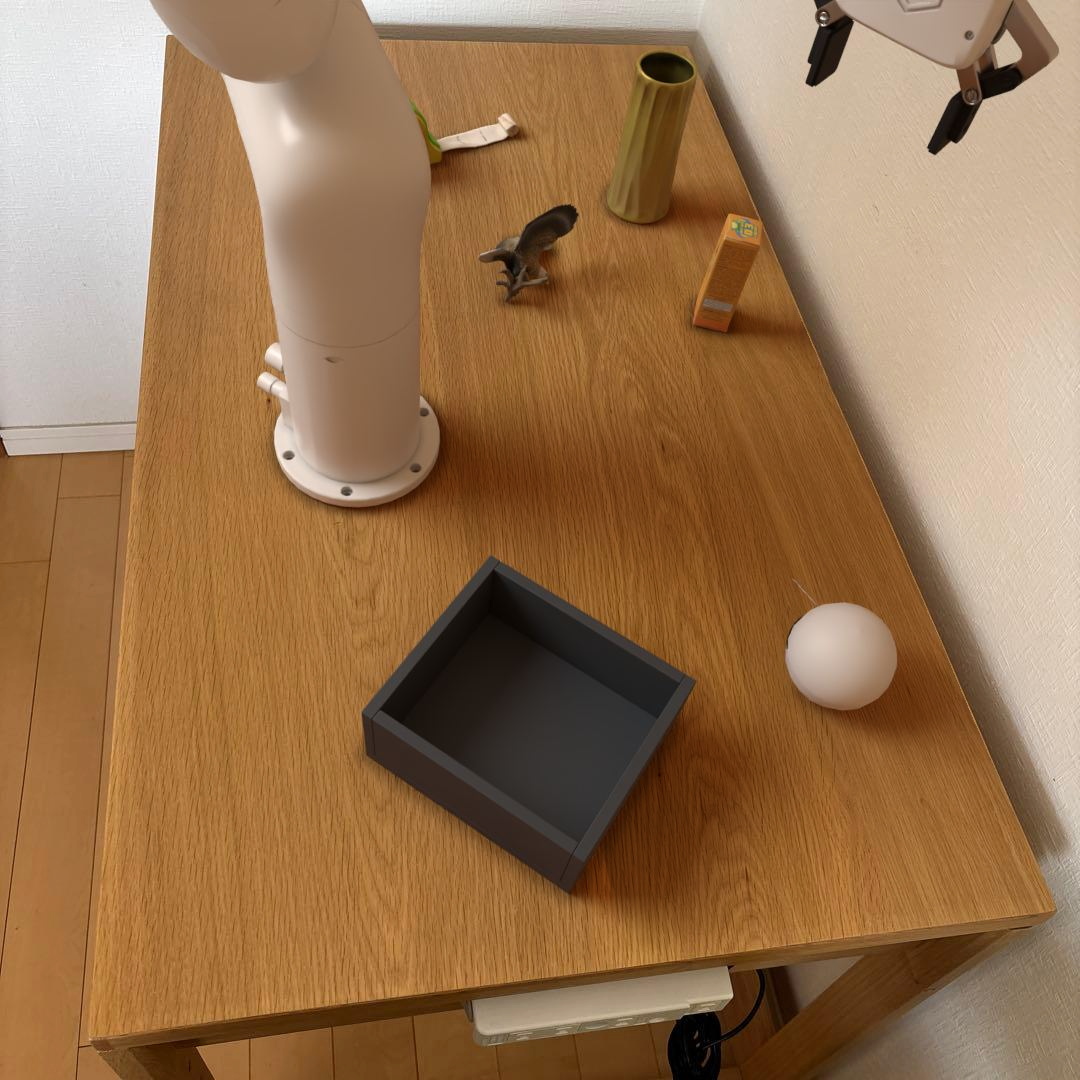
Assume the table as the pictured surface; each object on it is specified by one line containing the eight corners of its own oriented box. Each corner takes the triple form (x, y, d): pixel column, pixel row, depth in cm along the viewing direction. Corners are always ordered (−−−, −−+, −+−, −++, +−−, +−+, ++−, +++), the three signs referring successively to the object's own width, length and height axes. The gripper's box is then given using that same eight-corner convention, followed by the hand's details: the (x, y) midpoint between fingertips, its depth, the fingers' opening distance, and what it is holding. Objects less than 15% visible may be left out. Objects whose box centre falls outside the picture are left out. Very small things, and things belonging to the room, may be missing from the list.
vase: (679, 200, 100) (715, 64, 88) (649, 234, 97) (681, 97, 85) (625, 174, 101) (653, 36, 89) (594, 206, 98) (618, 68, 86)
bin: (365, 755, 66) (360, 711, 60) (484, 606, 73) (490, 554, 67) (568, 894, 63) (584, 862, 57) (673, 724, 70) (697, 680, 64)
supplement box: (729, 334, 90) (761, 246, 82) (691, 326, 90) (719, 237, 82) (733, 308, 92) (765, 219, 84) (696, 300, 92) (723, 210, 84)
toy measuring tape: (318, 155, 98) (312, 93, 92) (499, 112, 104) (504, 52, 99) (344, 196, 95) (340, 135, 90) (529, 150, 102) (535, 89, 96)
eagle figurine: (570, 311, 88) (596, 231, 92) (529, 255, 83) (558, 172, 86) (498, 320, 93) (525, 243, 96) (455, 267, 87) (486, 188, 91)
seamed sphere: (890, 717, 72) (935, 671, 65) (793, 736, 70) (829, 691, 64) (837, 594, 77) (873, 541, 71) (745, 609, 75) (774, 556, 69)
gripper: (828, -212, 56) (745, 74, 71) (1116, -83, 51) (964, 198, 66) (895, -246, 60) (803, 34, 74) (1171, -127, 55) (1015, 148, 69)
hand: (879, 110), depth 70 cm, fingers open, 9 cm apart
